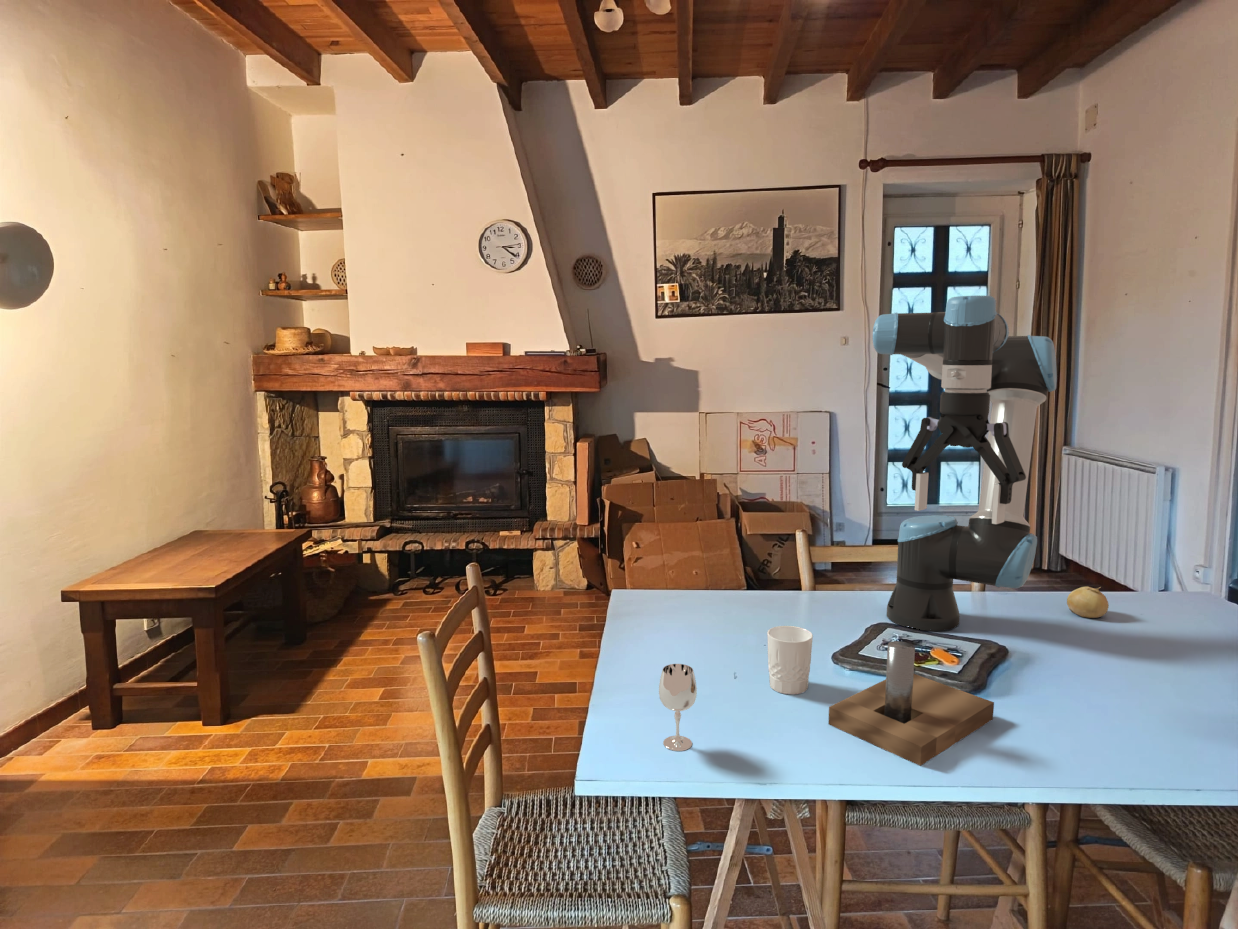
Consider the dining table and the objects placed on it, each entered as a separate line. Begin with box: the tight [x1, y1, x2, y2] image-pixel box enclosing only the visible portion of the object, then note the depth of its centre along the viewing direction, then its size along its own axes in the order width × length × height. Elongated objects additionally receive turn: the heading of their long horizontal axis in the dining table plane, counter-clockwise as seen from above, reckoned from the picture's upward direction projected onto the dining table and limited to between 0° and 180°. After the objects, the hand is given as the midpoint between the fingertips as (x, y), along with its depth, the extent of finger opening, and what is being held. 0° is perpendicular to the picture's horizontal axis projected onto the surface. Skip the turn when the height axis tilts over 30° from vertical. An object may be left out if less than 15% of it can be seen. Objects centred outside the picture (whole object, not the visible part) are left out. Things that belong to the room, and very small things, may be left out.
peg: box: [884, 640, 916, 724], centre depth 120 cm, size 4×4×14 cm
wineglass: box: [658, 663, 698, 752], centre depth 116 cm, size 6×6×12 cm
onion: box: [1066, 586, 1109, 619], centre depth 171 cm, size 8×8×7 cm
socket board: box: [827, 673, 995, 767], centre depth 123 cm, size 16×22×3 cm
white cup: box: [766, 625, 814, 695], centre depth 136 cm, size 8×8×10 cm
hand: (957, 516), depth 129 cm, fingers open, 13 cm apart
